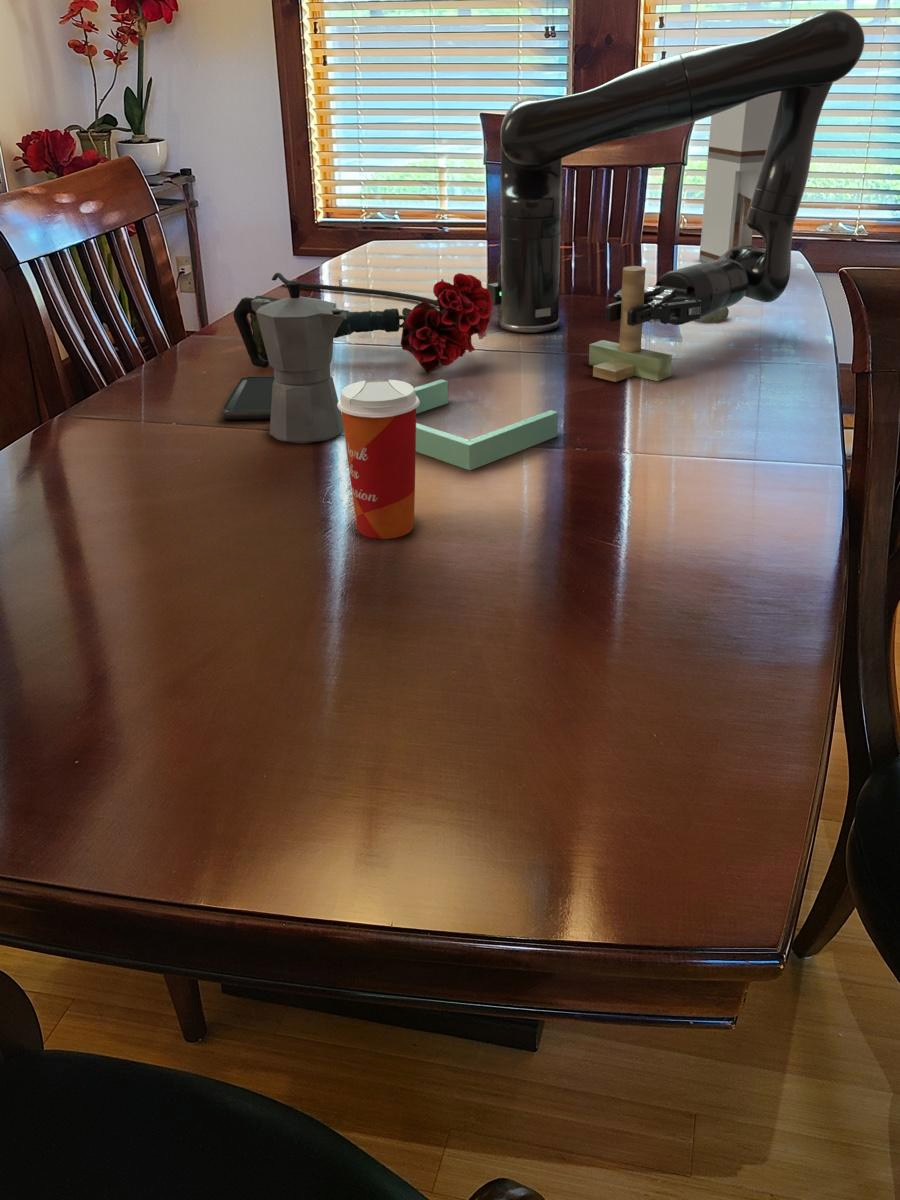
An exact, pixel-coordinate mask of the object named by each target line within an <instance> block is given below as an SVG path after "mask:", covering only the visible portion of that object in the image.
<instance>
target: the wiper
mask: <svg viewBox="0 0 900 1200" xmlns="http://www.w3.org/2000/svg"><path fill="white" fill-rule="evenodd" d="M646 270H647V269H646V267H645V266H640V265H629V266H624V267H622V280H621V281H622V282H621V289H622V299H621V319H619V321H620V322H619V340H618V341H619V342H614V341H610V340H605V339H601V340H598V341H596V342H593V343H589V345H588V347H589V348H588V365H589V366H592V367H593V366H595V365H598V364H601V363H604V362H607V361H610V360H613V361H617V362H622V363H626V364H630V365H634V374H633V376H634V377H637V378H642V379H645V380H651V381H654V382H660V381H662V380H664V379H667V378H670V377H671V372H672V360H673V354H668V353H664V352H660V351H654V350H650V349H646V348H642V339H643V337H642V336H643V323H641V324H638V325H635V326H630V325H628V324H627V314H628V310H629V309H631V308H634V307H637V306H641V305H644V290H646V272H647V271H646ZM633 376H632V377H633Z"/></svg>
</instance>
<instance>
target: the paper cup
mask: <svg viewBox="0 0 900 1200" xmlns="http://www.w3.org/2000/svg"><path fill="white" fill-rule="evenodd" d="M414 388H415V387H414V386H413V385H412V384H410V383H408V382H406V381H402V380H398V379H388V381H384V380H383V379H373V380H370V382H369V381H368V382H366V380H361V381H357V382H353V383H350V384H348V385H346V386H345V387H344V388H343V389H342V390H341V392H340V399H338V401H339V402H338V404H337V407H338V409H339V410H340V411H341V413H342V420H343V435H344V442H345V449H346V457H347V464H348V471H349V472H348V473H349V478H350V486H351V494H352V501H353V509H354V514H355V521H356V522H355V523H356V527H357V530H358V532H359V533H360V534H361V535H363V536H364V537H367V538H371V539H375V540H376V539H377V540H389V539H390V540H391V539H396V538H400V537H403V536H406V535H407V534H409V533H410V532H412V530H413V529H414V524H415V523H414V522H415V504H416V503H415V502H416V500H415V499H416V453H417V452H416V423H417V414H416V408H417V407H418V406H419V404H420V401H419V399H418V397H417V396H416V394H415V390H414Z"/></svg>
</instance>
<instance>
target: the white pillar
mask: <svg viewBox="0 0 900 1200" xmlns="http://www.w3.org/2000/svg"><path fill="white" fill-rule="evenodd" d="M780 93H781V91H778V92H774V93H770V94H767V95H763V96H760V97H757V98H755V99H752V100H750V101H747V102H745V103H743V104H740V105H738V106H735V107H733V108H731V109H728V110H725V111H723V112H720V113H718V114H715V115H712V116H710V125H709V126H710V127H709V139H708V149H707V160H706V161H707V162H706V174H705V175H706V176H705V185H704V186H705V187H704V197H703V198H704V199H703V210H702V222H701V236H700V247H699V257H698V260H699V262H702V263H704V264H705V263H709V262H712V261H716V260H717V259H718V258H719V257H721V256H722V255H723V254H724V253H725V252H726V251H727V250H729V249H731V248H733V247H739V246H743V247H749V248H753V249H756V250H760V251H764V252H765V248H761V247H758V246H755V245H752V242H753V241H752V240H753V232H754V231H752V230H751V229H749V228H748V226H747V224H746V219H747V214H748V211H749V207H750V204H751V200H752V197H753V194H754V190H755V187H756V184H757V180H758V177H759V174H760V170H761V167H762V164H763V161H764V157H765V154H766V151H767V148H768V144H769V141H770V137H771V134H772V130H773V126H774V122H775V118H776V113H777V108H778V104H779V98H780Z"/></svg>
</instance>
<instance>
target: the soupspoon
mask: <svg viewBox="0 0 900 1200" xmlns="http://www.w3.org/2000/svg"><path fill="white" fill-rule="evenodd" d="M729 312H730V311H729V307H726V308H723V309H720V310H717V311H716V312H714V313H712V314H710V315H708V316H705V317H702V318H700V319H698V320H699V321H702V322H706V323H707V322H708V323H717V322H723V321H724V320H726V319H727V318H728V317H729V315H730V314H729Z"/></svg>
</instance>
